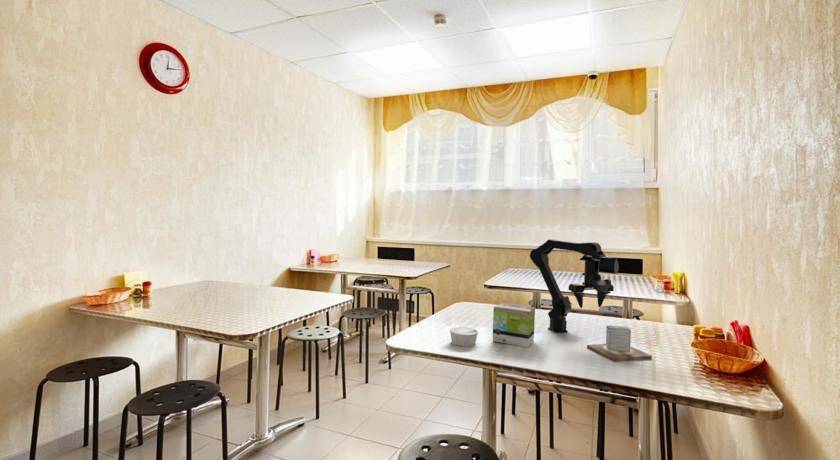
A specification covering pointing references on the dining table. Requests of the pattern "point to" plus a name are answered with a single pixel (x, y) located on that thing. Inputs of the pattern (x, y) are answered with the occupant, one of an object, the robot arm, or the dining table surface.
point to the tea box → (513, 324)
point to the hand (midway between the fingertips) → (590, 307)
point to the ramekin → (463, 336)
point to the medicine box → (618, 338)
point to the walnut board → (619, 353)
